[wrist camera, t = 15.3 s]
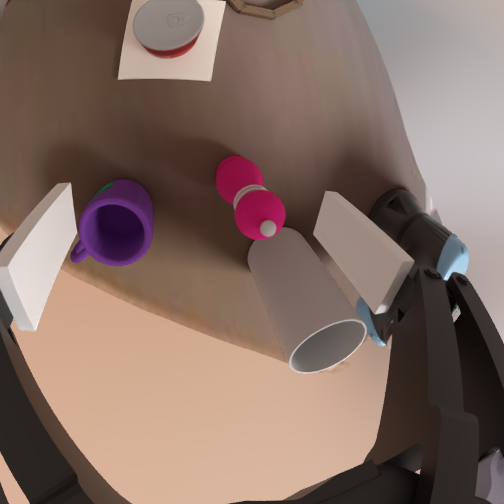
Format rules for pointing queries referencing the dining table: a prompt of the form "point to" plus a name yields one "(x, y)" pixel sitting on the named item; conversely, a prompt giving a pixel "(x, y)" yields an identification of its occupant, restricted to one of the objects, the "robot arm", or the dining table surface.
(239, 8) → the wooden polygonal ring
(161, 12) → the canned food
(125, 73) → the coaster
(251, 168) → the pepper mill
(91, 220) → the mug
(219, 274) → the dining table surface
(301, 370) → the cylinder vase
